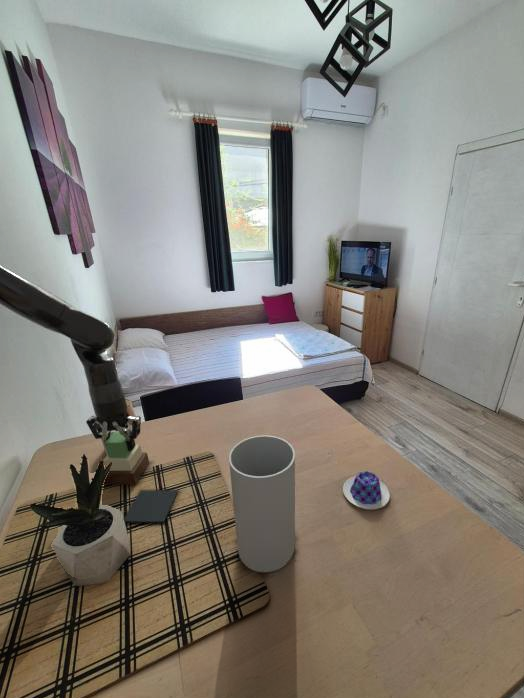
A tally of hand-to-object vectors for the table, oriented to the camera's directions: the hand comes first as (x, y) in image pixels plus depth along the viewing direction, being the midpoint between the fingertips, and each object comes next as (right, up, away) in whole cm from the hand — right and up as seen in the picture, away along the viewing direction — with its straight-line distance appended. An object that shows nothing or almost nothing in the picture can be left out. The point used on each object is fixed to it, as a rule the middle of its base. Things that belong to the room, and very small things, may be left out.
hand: (121, 449), depth 90 cm
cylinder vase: (+42, -17, -19) cm, 49 cm away
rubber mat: (+12, -12, -8) cm, 19 cm away
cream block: (0, -4, +2) cm, 4 cm away
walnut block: (0, -8, +3) cm, 8 cm away
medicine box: (-9, -4, +14) cm, 17 cm away
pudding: (+67, -11, -4) cm, 68 cm away
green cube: (0, -1, 0) cm, 1 cm away
